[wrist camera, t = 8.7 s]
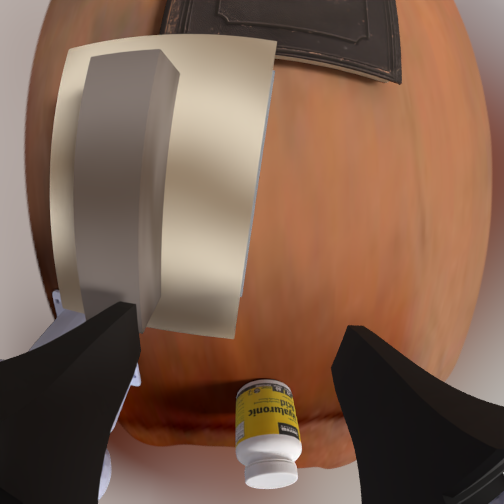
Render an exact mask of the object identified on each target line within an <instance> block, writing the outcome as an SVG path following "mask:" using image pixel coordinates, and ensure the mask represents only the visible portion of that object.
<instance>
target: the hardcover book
mask: <svg viewBox="0 0 504 504" xmlns="http://www.w3.org/2000/svg"><path fill="white" fill-rule="evenodd" d="M168 34H211V35H228V36H240V37H249V38H257V39H265V40H271V41H277V46H276V52H275V59H283V60H290V61H296V62H303V63H308V64H314V65H319V66H324V67H329V68H333V69H337V70H342V71H346V72H350V73H353V74H357V75H361V76H364V77H368V78H371V79H374V80H378V81H381V82H384V83H387V82H389V81H391V82H394V83H397V84H399V85H400V84H402V70H401V47H400V34H399V24H398V15H397V8H396V1H395V0H167V3H166V7H165V11H164V15H163V20H162V24H161V29H160V34H159V35H168Z"/></svg>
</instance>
